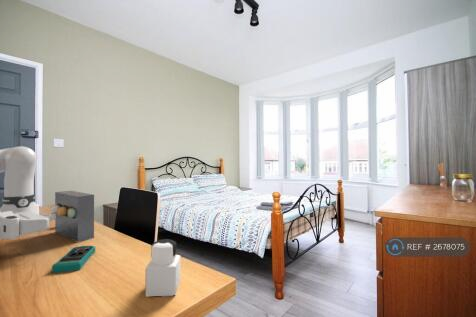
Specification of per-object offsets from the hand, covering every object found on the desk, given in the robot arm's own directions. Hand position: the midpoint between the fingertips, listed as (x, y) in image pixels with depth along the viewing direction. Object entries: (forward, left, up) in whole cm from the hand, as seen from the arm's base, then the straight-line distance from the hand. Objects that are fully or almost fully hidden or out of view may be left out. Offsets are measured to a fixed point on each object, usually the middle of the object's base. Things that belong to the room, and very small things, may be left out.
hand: (54, 216), depth 89 cm
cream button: (-13, +5, -2) cm, 14 cm away
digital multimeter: (+23, -2, -12) cm, 26 cm away
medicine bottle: (+59, +3, -11) cm, 61 cm away
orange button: (-7, +5, -2) cm, 8 cm away
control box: (-7, +9, -11) cm, 16 cm away
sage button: (0, +6, -2) cm, 6 cm away
